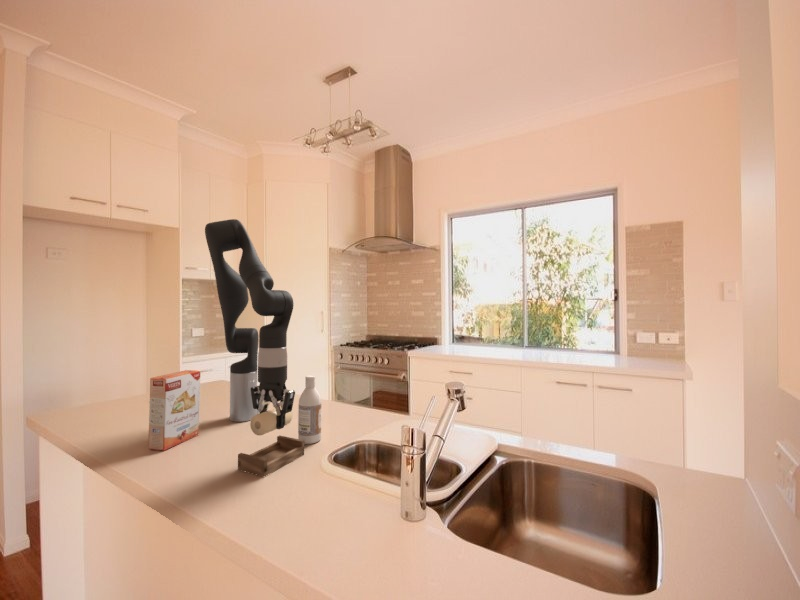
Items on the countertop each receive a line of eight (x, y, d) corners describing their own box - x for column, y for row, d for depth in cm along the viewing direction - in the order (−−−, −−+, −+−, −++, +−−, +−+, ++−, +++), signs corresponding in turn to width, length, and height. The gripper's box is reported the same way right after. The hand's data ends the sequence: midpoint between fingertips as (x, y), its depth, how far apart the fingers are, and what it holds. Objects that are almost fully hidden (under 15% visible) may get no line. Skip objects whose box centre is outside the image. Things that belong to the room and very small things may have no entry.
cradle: (279, 449, 109) (279, 435, 109) (304, 454, 105) (304, 440, 105) (237, 469, 96) (237, 454, 96) (264, 477, 92) (264, 460, 92)
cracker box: (165, 451, 107) (166, 378, 107) (147, 449, 108) (148, 377, 108) (200, 434, 120) (201, 370, 121) (184, 433, 122) (185, 369, 122)
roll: (277, 422, 106) (278, 404, 106) (292, 425, 104) (292, 406, 104) (250, 433, 97) (250, 413, 97) (265, 436, 95) (265, 416, 95)
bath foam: (318, 444, 113) (319, 378, 113) (295, 444, 113) (296, 378, 113) (322, 436, 120) (323, 374, 120) (301, 436, 120) (301, 374, 120)
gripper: (303, 363, 101) (302, 426, 101) (263, 360, 107) (262, 419, 107) (283, 368, 94) (282, 435, 94) (242, 363, 100) (241, 427, 100)
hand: (272, 426), depth 100 cm, fingers closed on roll, 5 cm apart
